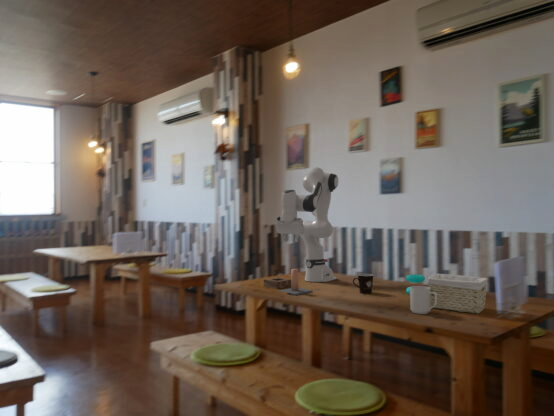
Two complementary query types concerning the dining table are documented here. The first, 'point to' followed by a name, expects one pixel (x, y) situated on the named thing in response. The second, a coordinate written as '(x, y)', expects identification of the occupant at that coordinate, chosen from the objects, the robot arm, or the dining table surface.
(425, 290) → the mug
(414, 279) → the donuts
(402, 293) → the dining table surface
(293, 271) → the dowel pin
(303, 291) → the slate mat
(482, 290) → the storage basket
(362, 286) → the coffee mug
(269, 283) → the holder block
